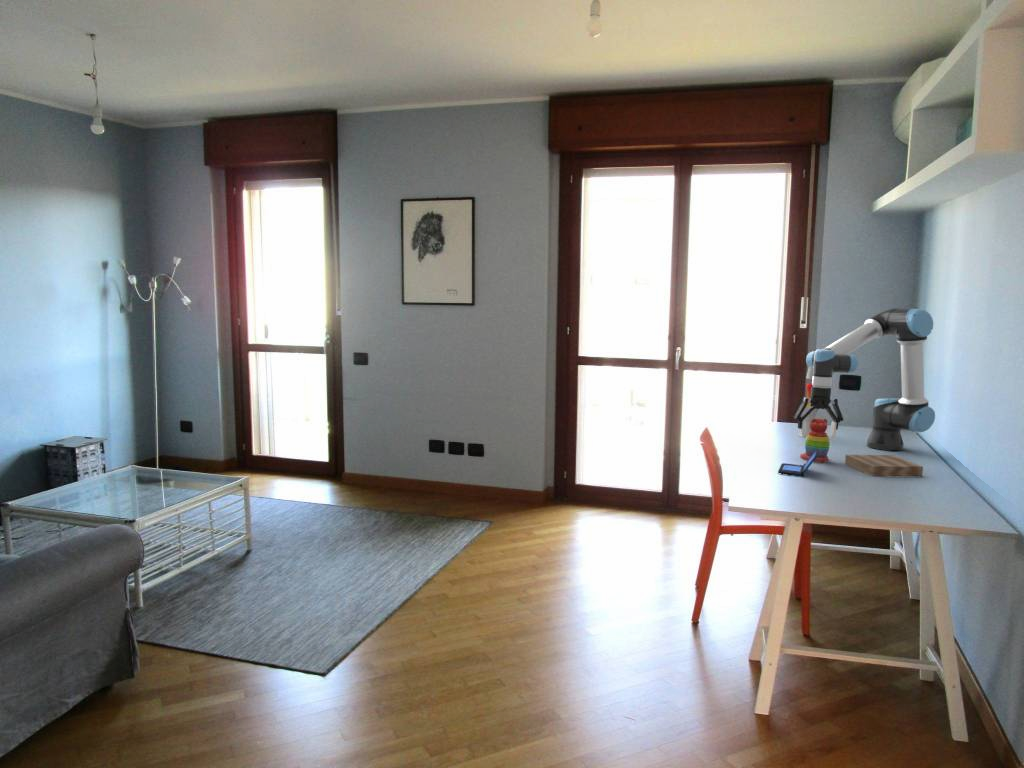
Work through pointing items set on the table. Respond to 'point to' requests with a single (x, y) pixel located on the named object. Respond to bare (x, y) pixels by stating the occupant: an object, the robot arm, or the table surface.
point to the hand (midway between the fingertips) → (816, 436)
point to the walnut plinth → (883, 465)
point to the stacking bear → (817, 441)
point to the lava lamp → (814, 412)
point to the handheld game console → (797, 467)
